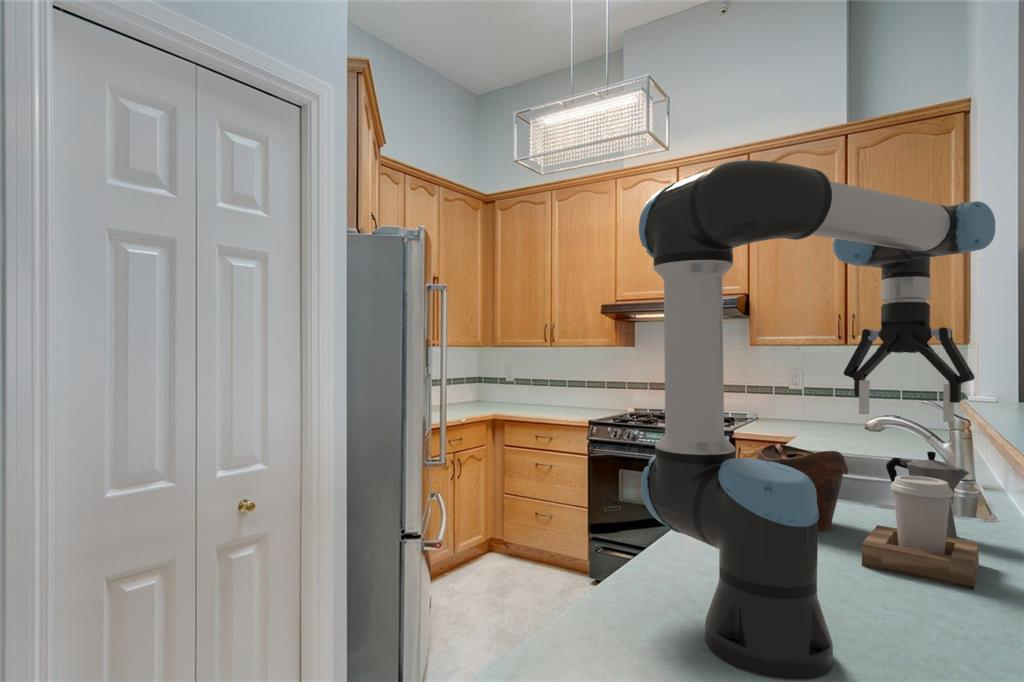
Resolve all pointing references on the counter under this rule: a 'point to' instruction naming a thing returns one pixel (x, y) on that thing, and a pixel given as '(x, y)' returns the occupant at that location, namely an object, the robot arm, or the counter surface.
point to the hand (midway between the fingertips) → (904, 417)
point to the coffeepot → (931, 470)
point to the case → (813, 474)
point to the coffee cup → (921, 512)
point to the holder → (922, 559)
